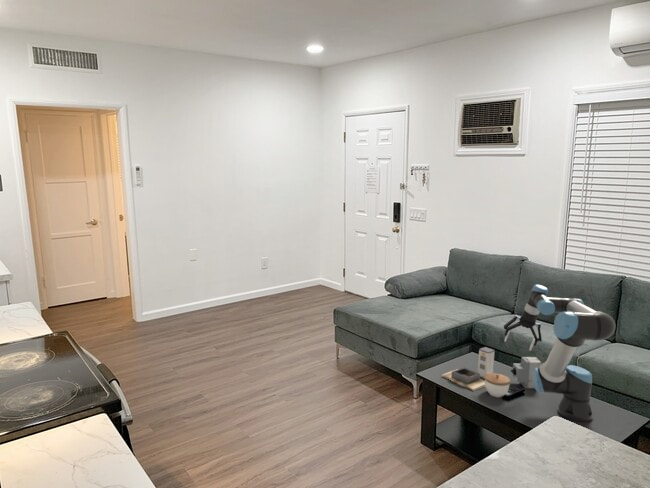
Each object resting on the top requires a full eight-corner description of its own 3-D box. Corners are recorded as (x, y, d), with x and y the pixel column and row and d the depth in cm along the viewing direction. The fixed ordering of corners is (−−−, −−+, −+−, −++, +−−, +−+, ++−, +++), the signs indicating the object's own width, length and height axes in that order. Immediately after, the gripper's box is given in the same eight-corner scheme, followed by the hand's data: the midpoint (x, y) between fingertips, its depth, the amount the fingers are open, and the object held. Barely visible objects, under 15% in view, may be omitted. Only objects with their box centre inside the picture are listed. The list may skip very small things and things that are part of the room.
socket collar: (479, 379, 264) (479, 373, 263) (467, 384, 257) (467, 378, 257) (463, 372, 272) (464, 367, 272) (451, 377, 266) (451, 371, 266)
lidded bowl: (514, 398, 245) (515, 378, 244) (493, 401, 241) (495, 381, 240) (498, 387, 257) (499, 368, 255) (478, 390, 253) (480, 371, 252)
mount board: (489, 384, 260) (489, 382, 260) (473, 391, 252) (473, 389, 252) (457, 370, 278) (457, 369, 278) (441, 376, 270) (441, 374, 270)
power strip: (492, 376, 271) (494, 350, 269) (485, 379, 268) (487, 352, 265) (483, 372, 276) (485, 346, 274) (476, 375, 272) (478, 349, 270)
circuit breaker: (509, 382, 265) (510, 356, 262) (534, 382, 264) (536, 357, 262) (513, 388, 257) (515, 362, 255) (540, 388, 257) (541, 362, 254)
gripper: (554, 317, 252) (540, 350, 259) (507, 301, 259) (494, 334, 266) (556, 322, 246) (541, 356, 253) (507, 306, 252) (494, 340, 259)
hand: (517, 345), depth 259 cm, fingers open, 13 cm apart
